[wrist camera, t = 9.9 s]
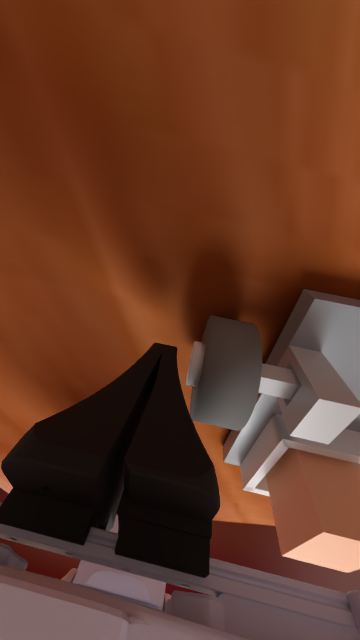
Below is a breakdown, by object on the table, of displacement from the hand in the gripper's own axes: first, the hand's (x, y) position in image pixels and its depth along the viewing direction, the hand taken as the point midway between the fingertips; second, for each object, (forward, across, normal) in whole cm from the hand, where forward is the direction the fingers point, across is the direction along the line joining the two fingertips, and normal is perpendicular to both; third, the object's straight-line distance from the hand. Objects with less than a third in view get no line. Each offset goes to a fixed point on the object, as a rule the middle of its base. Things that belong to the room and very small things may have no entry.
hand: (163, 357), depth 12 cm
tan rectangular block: (+2, -13, +9) cm, 16 cm away
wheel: (+3, -5, 0) cm, 6 cm away
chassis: (+3, -13, +4) cm, 14 cm away
